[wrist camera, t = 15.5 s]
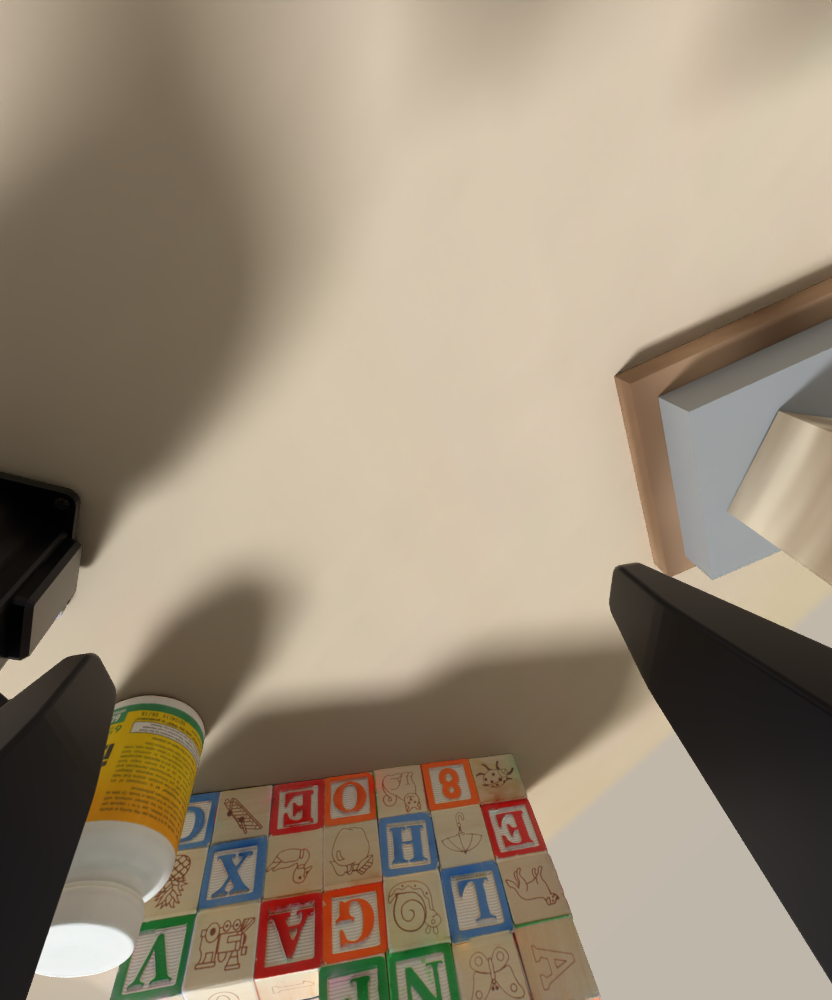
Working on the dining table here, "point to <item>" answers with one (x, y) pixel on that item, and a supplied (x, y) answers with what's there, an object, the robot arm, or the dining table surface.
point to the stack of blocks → (363, 894)
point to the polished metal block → (792, 490)
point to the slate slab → (737, 440)
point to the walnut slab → (680, 369)
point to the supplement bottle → (126, 836)
